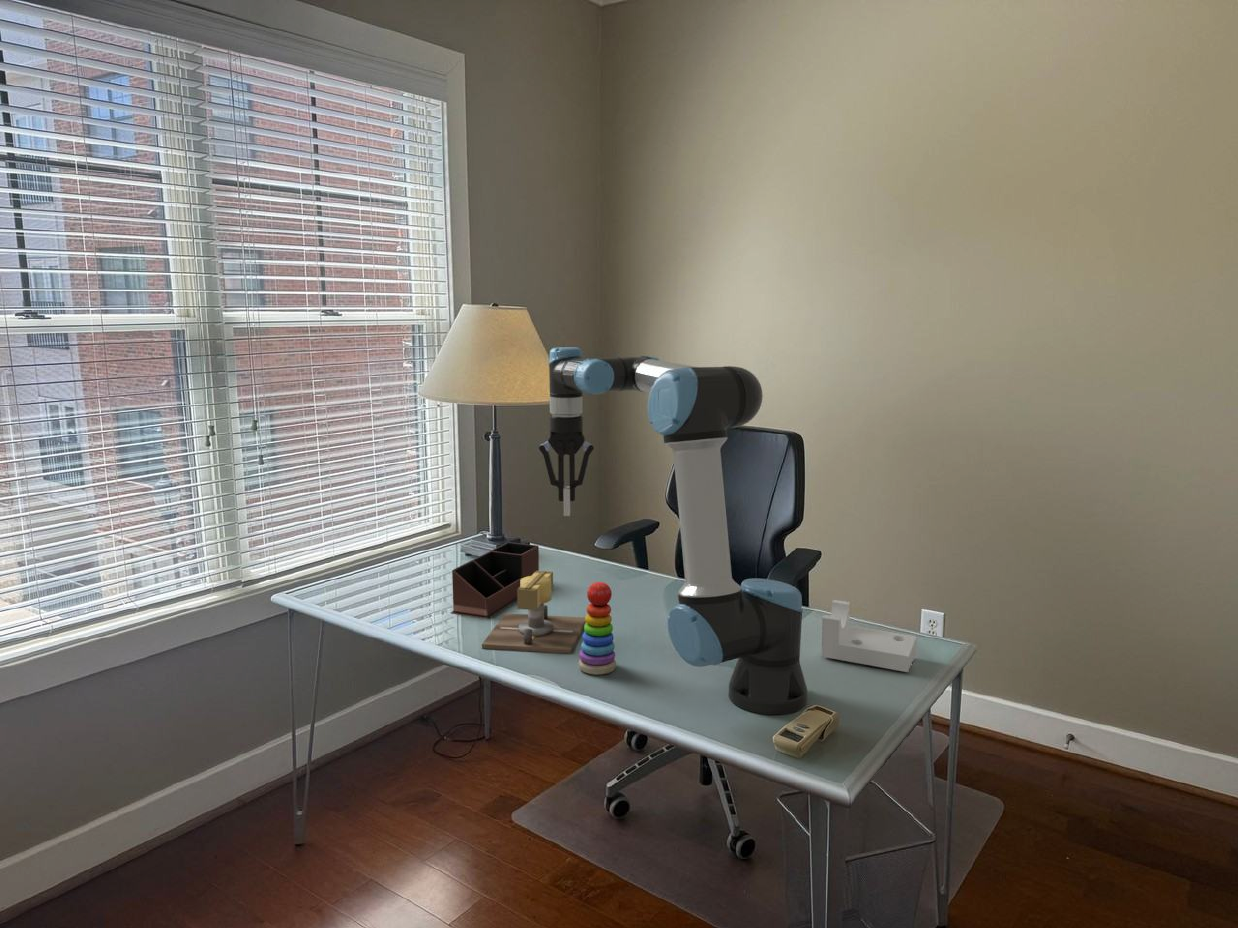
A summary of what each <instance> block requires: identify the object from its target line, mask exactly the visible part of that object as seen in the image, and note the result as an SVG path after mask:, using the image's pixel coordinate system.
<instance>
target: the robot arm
mask: <svg viewBox="0 0 1238 928" xmlns="http://www.w3.org/2000/svg"><path fill="white" fill-rule="evenodd" d="M548 370H549V371H548V372H549V413H550V414H551V415H550V417H549V436H548V437H547V441H545V442H543V443H541V444H539V446H538V449H539V451H540V452H541V454H542V455H543V459H544V463H545V466H546V470H547V471H546V472H547V473H548V478H549V482H550V485H551V486H553V487H557V489H558V501H559V502H563V517H571V502H575V501H576V487H579V486H582V485H583V483H584V478H585V475H586V469H587V466H588V463H589V458H590V455H591V453H592V452H593V450H594V446H595V445H594V444H593V443H590V442H588V441H586V439H585V435H584V434H583V428H584V427H583V425H584V424H583V421H584V420H583V419H584V418H583V416H582V414H583V393H584V394H588V395H602V394H605V393H608V392H609V393H610V392H621V391H624V392H625V391H637V392H639V393H640V392H641V393H647V394H648V399H647V417H648V421H649V422H650V424H651V426H652V429H653V430H654V431H655V432H656V433H658V434H660V435H662V438H663V445H664V446H665V447H666V448H667V449H669V450H670V451H671V452H672V454H673V462H674V463H673V464H674V466H673V467H674V474H675V475H674V476H675V484H676V487H675V488H676V497H677V507H678V517H679V518H678V519H679V529H680V539H681V549H682V561H683V571H684V583H683V585H682V586H681V587H680V589H679V590H678V592H677V597H678V598H677V599H678V604H676V605H675V606H674V607H672V608H671V609H670V611H669V614H668V616H667V630H668V631H667V632H668V634H669V638H670V641H671V643H672V646H673V647H674V649H675V651H676V652H677V654H678V655H679V657H680V658H682V660H684V662H685V663H687V664H689V665H690V666H693V667H697V668H702V667H707V666H718V665H720V664H721V663H725V662H729V661H733V660H736V659H737V661H736V664H735V666H734V669H733V672H732V675H731V676H730V679H729V682H728V694H727V695H728V698H729V700H730V701H731V703H733V704H734V705H735V706H737V707H739V708H741V709H743V710H744V711H745V710H746V711H749V712H752V713H755V714H762V715H786V714H792V713H794V712H795V713H796V712H797V711H800V710H801V709H803V708H805V706H806V705H807V703H808V686H807V684H806V680H805V676H804V672H803V670H802V667H801V662H800V657H801V639H802V638H801V637H802V620H803V612H804V611H803V609H804V608H803V602H802V601H803V599H802V597H803V596H802V592H801V591H800V590H799V589H798V588H797V587H795V586H793V585H792V584H789V583H787V582H783V581H779V580H773V579H769V578H746V579H744V580H743V581H742V582H741V584H738V583H737V582H736V581H735V580H734V579H733V575H732V564H731V553H730V544H729V543H730V541H729V531H728V521H727V520H728V519H727V510H726V500H725V498H726V497H725V488H724V477H723V467H722V464H723V463H722V456H721V448H722V446H723V445H724V444H725V443H726V441H728V429H735V428H738V427H741V426H744V425H746V424H748V423H749V422H750V421H752V420H753V419H754V418H755V417H756V416H757V414H758V413H759V411H760V408H761V407H762V403H763V398H764V397H763V396H764V395H763V388H762V385H761V383H760V381H759V379H758V377H756V375H755V374H753V373H752V371H750V370H747V369H746V368H743V367H740V366H735V365H734V366H731V365H730V366H729V365H727V366H702V367H701V366H700V367H699V366H693V365H686V364H682V363H675V362H669V361H663V360H660V359H659V358H658V357H655V356H649V355H648V356H647V355H641V356H630V357H629V356H628V357H627V356H626V357H596V358H594V357H593V358H591V357H588V358H586V357H583V352H582V349H581V348H580V347H572V346H567V347H566V346H563V347H560V346H558V347H553V348H551V349H550V351H549V362H548ZM582 446H583V448H582ZM550 447H552V449H553V451H554V452H555V453H556V454H557V456H558V457H557V459H558V460H557V464H558V466H557V467H558V469H557V470H558V471H557V473H558V474H557V475H558V479H556V474H555V470H554V467H553V463H552V459H551V455H550V452H549V451H550V449H551V448H550ZM581 448H582V450H583V451H584V453H583V457H582V461H581V463H580V464H581V465H580V469H579V473H578V477H577V479H576V472H575V471H576V460H575V459H576V457H575V455H576V454H577V453H578V452H579V451H580V449H581ZM565 455H568V457H569V459H568V460H569V461H568V462H569V486H567V485H566V486H565V459H564V458H565Z"/></svg>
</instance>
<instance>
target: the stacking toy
mask: <svg viewBox="0 0 1238 928" xmlns="http://www.w3.org/2000/svg"><path fill="white" fill-rule="evenodd" d="M586 596H587V599H588V602H589V603H590V604H588V605H587V607H586V612H587V614H586V615H585V621H586V624H585V626H584V628H583V629H584V630H583V631H584V632H583V633H582V642H581V645H580V648H581V649H580V651H579V654H578V656H579V660H578V665H577V666H578V668H579V670H581V672H583V673H586V674H589V675H594V676H595V675H598V676H599V675H605V674H606V675H607V674H609V673H612V672H614V670H615V669H616V668H617V661H616V652H615V647H616V646H615V642H614V633H612V632H613V629H614V627H613V624H612V621H613V619H612V615H611V612H612V607H611V605H609V604H608V603H609V602H610V601H611V600H612V589H611V587H610V586H609V585H608V584H607V583H606V582H603V581H595V582H593V583H592V584H590V585H589V586H588V589H587V593H586Z"/></svg>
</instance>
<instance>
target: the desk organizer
mask: <svg viewBox="0 0 1238 928" xmlns="http://www.w3.org/2000/svg"><path fill="white" fill-rule="evenodd" d="M539 546H540V545H536V544H529V543H519V542H510V541H507V542H505V543H503V544H500V545H499V546H497V547H495V548H493V549H491V550H490V551H488V552H486V553H484V554H481V555H479V556H477V557H476V558H474V559H472V560H469V561H467V562H465V563H463V564H462V565H459V566H457V567H455V568H454V569H451V575H452V576H451V578H452V604H453V605H452V607H453V608H452V609H453V610H452V611H450V614H452V615H459V616H464V617H465V616H466V617H472V618H477V619H485V620H488V619H490V618H491V617H493V616H494V615H496V614H498V613H499V612H501V611H502V610H503V609H506V608H507V607H508V606H510V605H512V604H513V603H515V602H517V589H518V588H519V587H520V580H521V579H522V578H524V577H528V576H532V575H533V574H534V573H535V572H536V571H540V567H539V566H540V562H539V561H540V560H539V559H540V555H539V552H540V550H539V549H540V547H539Z"/></svg>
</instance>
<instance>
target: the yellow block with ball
mask: <svg viewBox="0 0 1238 928" xmlns="http://www.w3.org/2000/svg"><path fill="white" fill-rule="evenodd" d="M553 591H554V571H547V570H539V571H536V572H535V573H534V574H533V575H532V576H528V577H524V578H522V579H521V580H520V587H519V588H518V589H517V600H516V603H517V610H526V611H528V610H536V609H537V607H538V606H539V605H540V604H543V603H544V604H547V603H549V602H551V600H552V592H553Z"/></svg>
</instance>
